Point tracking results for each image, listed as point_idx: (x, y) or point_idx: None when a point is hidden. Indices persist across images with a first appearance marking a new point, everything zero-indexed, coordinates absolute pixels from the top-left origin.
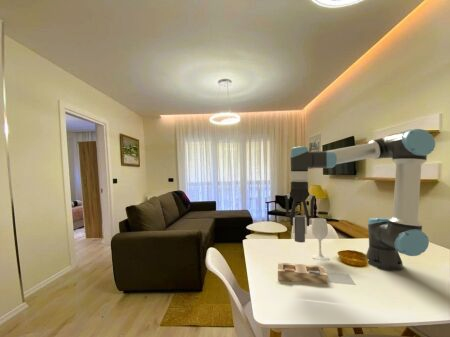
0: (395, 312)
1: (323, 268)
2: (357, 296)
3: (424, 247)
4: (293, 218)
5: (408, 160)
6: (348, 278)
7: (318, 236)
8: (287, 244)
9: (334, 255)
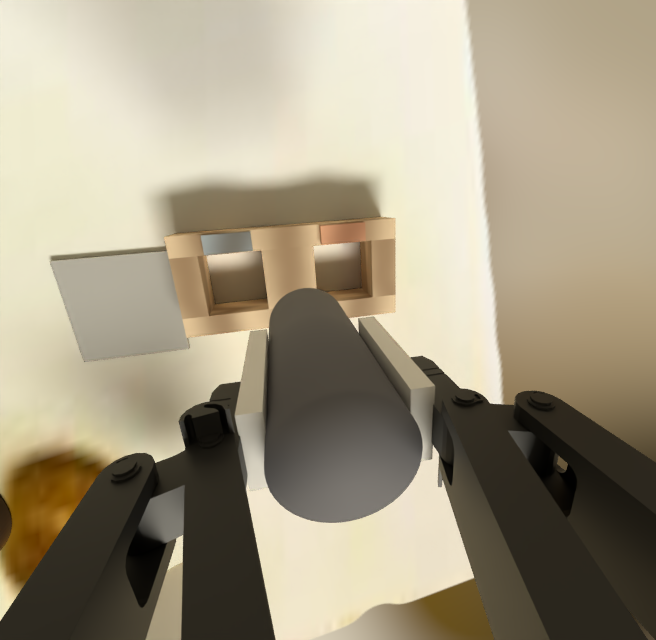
0: None
1: (184, 308)
2: (43, 158)
3: None
4: (426, 403)
5: None
6: (83, 314)
7: None
8: (352, 567)
9: None
